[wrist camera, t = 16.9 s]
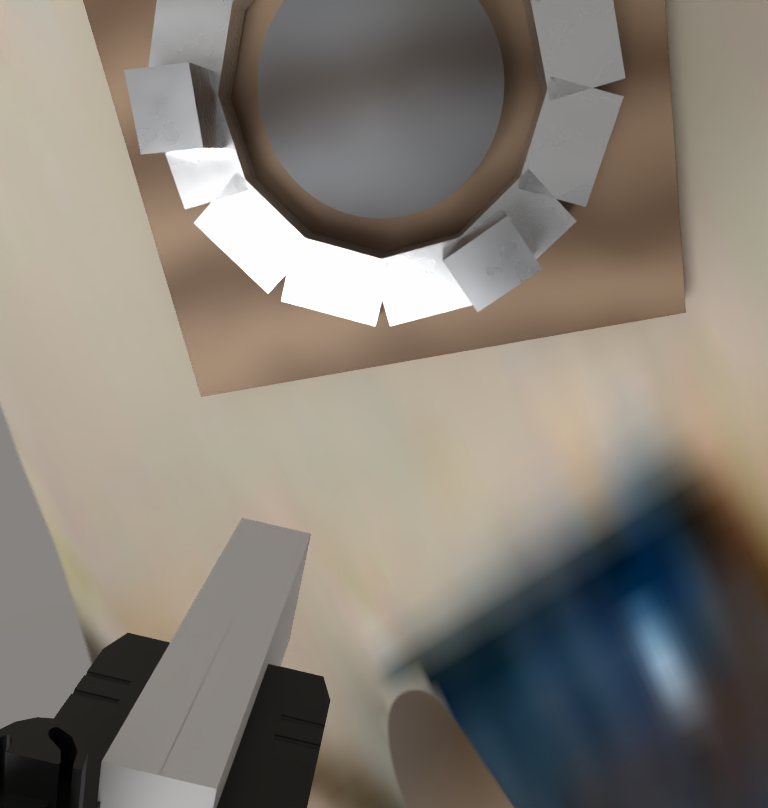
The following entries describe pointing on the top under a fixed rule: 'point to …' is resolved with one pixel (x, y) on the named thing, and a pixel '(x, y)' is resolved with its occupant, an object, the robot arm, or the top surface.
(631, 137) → the walnut base
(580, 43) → the grey block ring
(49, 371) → the top surface
